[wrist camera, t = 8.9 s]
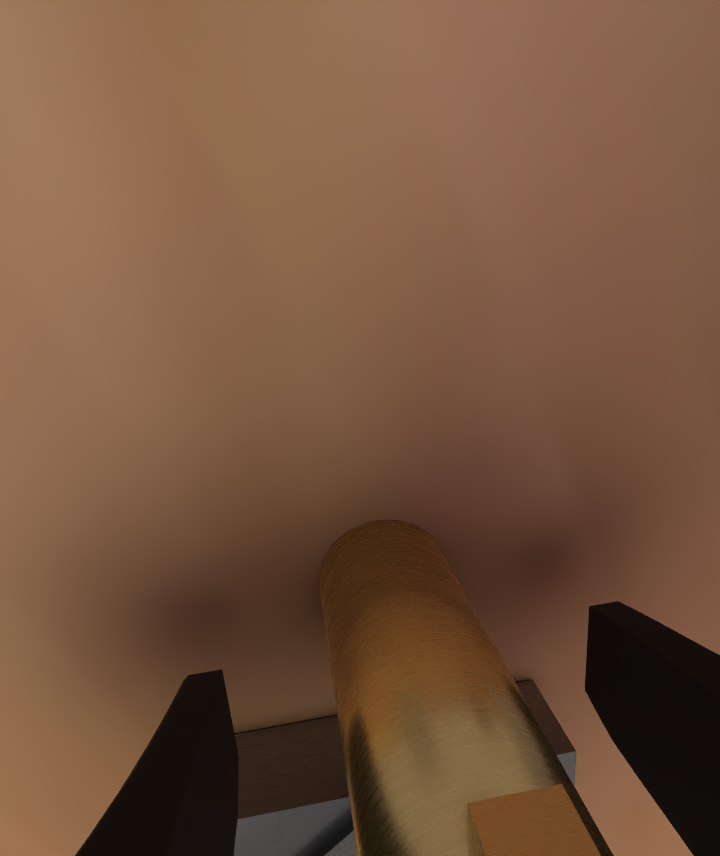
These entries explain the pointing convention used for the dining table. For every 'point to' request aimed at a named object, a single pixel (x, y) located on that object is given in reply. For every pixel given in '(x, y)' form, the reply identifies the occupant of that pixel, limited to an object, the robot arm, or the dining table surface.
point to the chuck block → (321, 783)
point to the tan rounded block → (435, 713)
